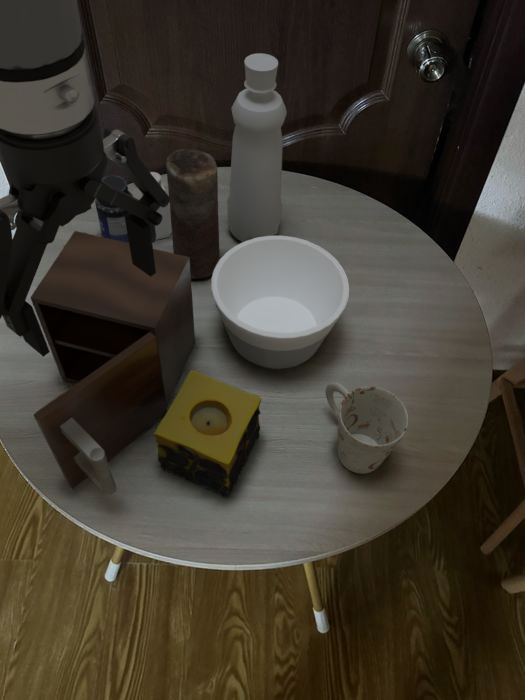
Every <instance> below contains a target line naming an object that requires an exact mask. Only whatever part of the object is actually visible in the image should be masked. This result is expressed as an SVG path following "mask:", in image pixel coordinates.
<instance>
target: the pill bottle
mask: <svg viewBox="0 0 525 700" xmlns="http://www.w3.org/2000/svg"><path fill="white" fill-rule="evenodd" d="M102 181H103V182H105V183H107V184H109V185H111V186H113V187H115V188H117V189H119V190H121V191H123V192H125V193H127V194H129V195H131V196H132V197H134V195H133V193H132V192H131V191H130V190H129V187H128V183H127V182H128V181H126V179H125V178H124V177H122V176H119V175H115V174H111V175H106V176H103V179H102ZM94 205H95V209H96V213H97V218H98V223H99V228H100V232H101V237H104V238H108V239H113V240H117V241H121V242H126V243H129V240H128V234H127V228H126V222H125V217H124V216H125V215H127V214H128V213H129V212H127V211H125V210H123V209H121V208H118V207H116V206H114V205H112V204H111V205H110V204H108V203H106V202H104V201H102V200H100V199H97V198H96V199H95V200H94Z"/></svg>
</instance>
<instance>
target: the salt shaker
mask: <svg viewBox="0 0 525 700" xmlns="http://www.w3.org/2000/svg"><path fill="white" fill-rule="evenodd" d="M149 172H150V173H151V174H152V175H153V177H154V178H155V179H156V181H157V182H158V183H159V184H160V186H161V187H162V188H163V190H164V191H165V192H166V188H165V187H164V185H163V184H162V176H161V174H160V173H158V172H155V171H149ZM166 193H167V192H166ZM142 196H143V194H142V193H141V197H142ZM157 212H158V213H160V214H161V215H162V217H163V218H162V221H161V223H160V224H159V225H157V226H155V230H156V240H155V241H158V240H161V239H166V238H169V237H170V235H172V228H171V213H170V203H169V204H168V205H167V206H166V207H161V206H160V207H159V209H158V210H157Z"/></svg>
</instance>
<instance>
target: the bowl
mask: <svg viewBox="0 0 525 700" xmlns="http://www.w3.org/2000/svg"><path fill="white" fill-rule="evenodd" d="M211 275H212V276H211V279H210V291H211V294H212V298H213V301H214V304H215V306H216V308H217V309H216V310H217V311H218V313H219V316H220V318H221V319H222V322H223V323H222V324H223V325H224V327H225V330H226V332H227V335H228V337H229V340H230V342H231V344H232V345H233V347H234V349H235V350H236V351H237V353H238V354H239V355H240V356H241V357H243V358H244V359H245V360H247V361H248V362H250V363H251V364H254V365H255V366H259V367H263V368H266V369H273V370H276V369H277V370H278V369H279V370H280V369H282V370H283V369H289V368H294V367H296V366H298V365H302V364H304V363H305V362H306V361H308V360H310V359H311V357H313V356H314V355H315V353H316V352H317V351H318V349H319V347H321V345H322V343H323V342H324V340H325V339H326V337H327V336H328V334H329V333H330V332H331V330H332V329H333V328H334V326H335V325H336V323H337V322H338V320H339V319H340V318H341V316H342V314H343V313H344V311H345V310H346V308H347V305H348V302H349V299H350V284H349V279H348V276H347V274H346V272H345V269H344V267H343V266H342V265H341V263H340V262H339V261H338V259H337V258H335V257H334V255H332V254H331V253H330V252H329V251H327V250H326V249H324V248H323V247H322V246H319V245H318V244H315V243H313V242H311V241H309V240H306V239H302V238H299V237H295V236H290V235H289V236H288V235H274V236H264V237H257V238H254V239H253V238H251V239H249V240H247V241H245V242H240V243H238V244H236V245H234V246H233V247H232V248H230V249H229V250H227V251H226V252H225V253H224V254H223V255H222V257H221V258H220V259H219V262H218V263H217V265H216V267H215V269H214V271H213V273H212V274H211Z"/></svg>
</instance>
